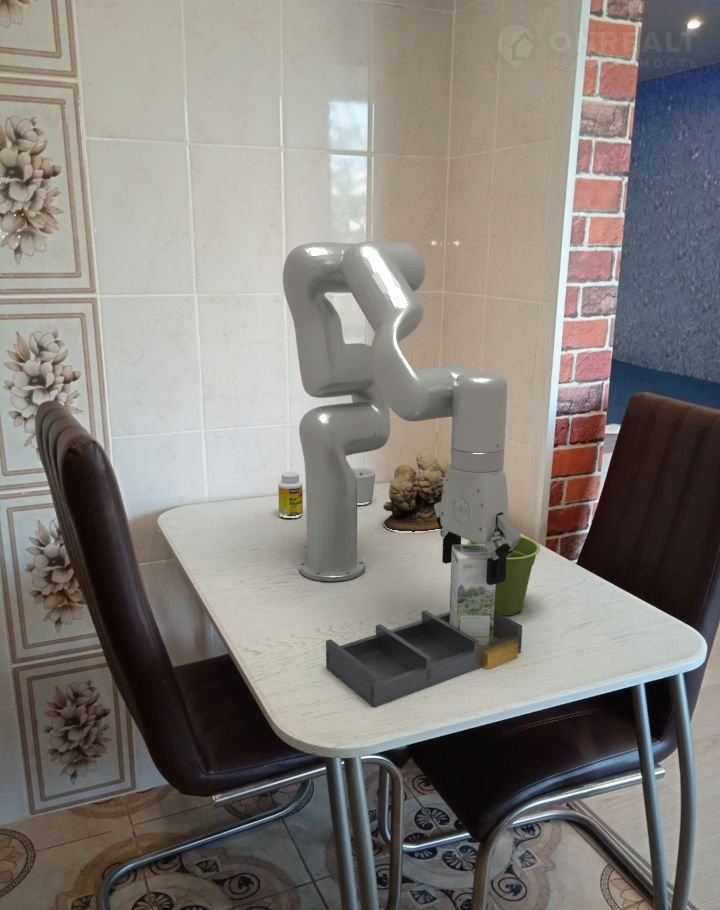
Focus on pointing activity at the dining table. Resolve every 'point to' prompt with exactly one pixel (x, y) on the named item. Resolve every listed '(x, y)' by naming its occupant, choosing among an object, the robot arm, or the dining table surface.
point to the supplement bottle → (290, 494)
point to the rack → (418, 656)
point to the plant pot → (515, 577)
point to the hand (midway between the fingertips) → (472, 571)
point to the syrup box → (471, 592)
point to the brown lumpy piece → (416, 494)
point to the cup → (364, 484)
